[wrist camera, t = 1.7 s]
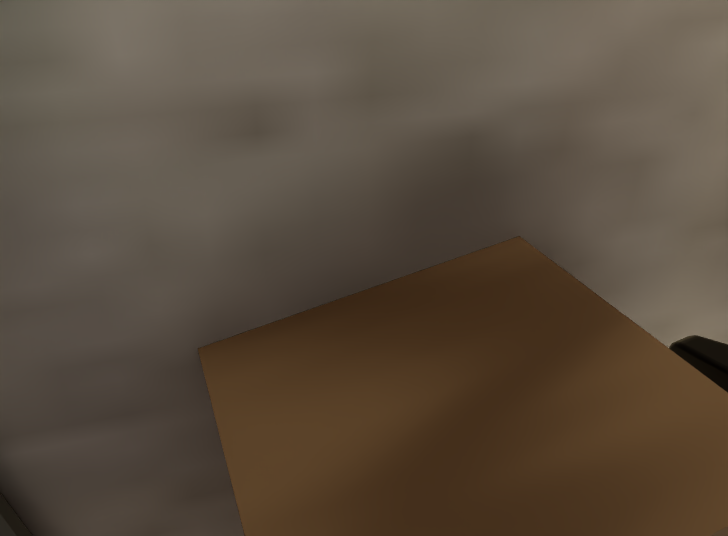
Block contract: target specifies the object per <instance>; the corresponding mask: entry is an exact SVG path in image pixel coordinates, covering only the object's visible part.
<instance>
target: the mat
mask: <svg viewBox="0 0 728 536" xmlns="http://www.w3.org/2000/svg"><path fill="white" fill-rule="evenodd" d="M0 536H32V535H31V533H30V532H29V531H28V529H27V528H26V527H25V525H24V524H23V523H22V521H21V520H20V519H19V517H18V516H17V515H16V513H15V512H14V511H13V509H12V508H11V507H10V505H9V504H8V503H7V501H6V500H5V499H4V497H3V496H2V495H1V493H0Z"/></svg>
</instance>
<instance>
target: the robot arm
mask: <svg viewBox="0 0 728 536" xmlns="http://www.w3.org/2000/svg"><path fill="white" fill-rule="evenodd" d="M669 349H670V350H672V351H673V352H674V353H675V354H677V355H678V356H679V357H681V358H682V359H683V360H685V361H686V362H687V363H689V364H690V365H691V366H693V367H694V368H695V369H697V370H698V371H699V372H701V373H702V374H703V375H705V376H706V377H707V378H709V379H710V380H711V381H713V382H714V383H715V384H717V385H718V386H719V387H721V388H722V389H723V390H725V391H726V392H727V393H728V344H724V343H721V342H717V341H714V340H711V339H707V338H704V337H700V336H688V337H686V338H683V339H681V340H679V341H676V342H674V343H672V344H671V346H670V347H669Z"/></svg>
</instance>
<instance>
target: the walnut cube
mask: <svg viewBox="0 0 728 536" xmlns="http://www.w3.org/2000/svg"><path fill="white" fill-rule="evenodd" d="M198 352H199V356H200V360H201V364H202V368H203V372H204V376H205V380H206V384H207V388H208V392H209V396H210V400H211V404H212V408H213V412H214V416H215V419H216V423H217V427H218V431H219V435H220V439H221V443H222V447H223V451H224V455H225V459H226V463H227V467H228V471H229V475H230V479H231V483H232V487H233V491H234V495H235V499H236V503H237V507H238V511H239V515H240V519H241V523H242V527H243V531H244V535H245V536H728V393H727V392H726V391H725V390H723V389H722V388H721V387H719V386H718V385H717V384H715V383H714V382H713V381H711V380H710V379H709V378H707V377H706V376H705V375H703V374H702V373H701V372H699V371H698V370H697V369H695V368H694V367H693V366H691V365H690V364H689V363H687V362H686V361H685V360H683V359H682V358H681V357H679V356H678V355H677V354H675V353H674V352H673V351H672V350H670V349H669V348H668V347H666V346H665V345H664V344H662V343H661V342H660V341H658V340H657V339H656V338H654V337H653V336H652V335H650V334H649V333H648V332H646V331H645V330H644V329H642V328H641V327H640V326H638V325H637V324H636V323H634V322H633V321H632V320H630V319H629V318H628V317H626V316H625V315H624V314H622V313H621V312H620V311H618V310H617V309H616V308H614V307H613V306H612V305H610V304H609V303H608V302H606V301H605V300H604V299H602V298H601V297H600V296H598V295H597V294H596V293H594V292H593V291H592V290H590V289H589V288H588V287H586V286H585V285H584V284H582V283H581V282H580V281H578V280H577V279H576V278H574V277H573V276H572V275H570V274H569V273H568V272H566V271H565V270H564V269H562V268H561V267H560V266H558V265H557V264H556V263H554V262H553V261H552V260H550V259H549V258H548V257H546V256H545V255H544V254H542V253H541V252H540V251H538V250H537V249H536V248H534V247H533V246H532V245H530V244H529V243H528V242H526V241H525V240H524V239H522V238H521V237H520V236H518V237H516V238H513V239H510V240H507V241H504V242H501V243H498V244H496V245H493V246H490V247H487V248H484V249H481V250H478V251H475V252H473V253H470V254H467V255H464V256H461V257H458V258H455V259H453V260H450V261H447V262H444V263H441V264H438V265H435V266H433V267H430V268H427V269H424V270H421V271H418V272H415V273H413V274H410V275H407V276H404V277H401V278H398V279H395V280H393V281H390V282H387V283H384V284H381V285H378V286H375V287H372V288H370V289H367V290H364V291H361V292H358V293H355V294H352V295H350V296H347V297H344V298H341V299H338V300H335V301H332V302H330V303H327V304H324V305H321V306H318V307H315V308H312V309H310V310H307V311H304V312H301V313H298V314H295V315H292V316H290V317H287V318H284V319H281V320H278V321H275V322H272V323H270V324H267V325H264V326H261V327H258V328H255V329H252V330H249V331H247V332H244V333H241V334H238V335H235V336H232V337H229V338H227V339H224V340H221V341H218V342H215V343H212V344H209V345H207V346H204V347H201V348H198Z"/></svg>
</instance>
